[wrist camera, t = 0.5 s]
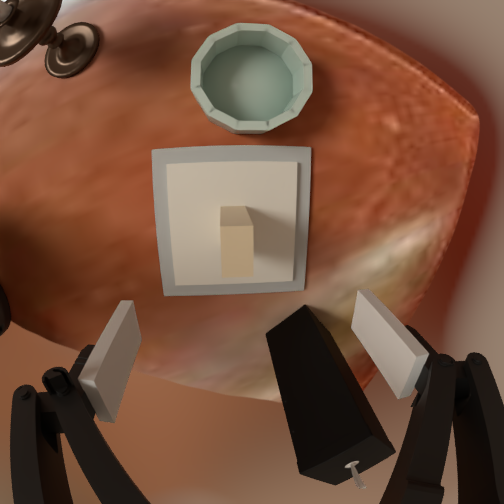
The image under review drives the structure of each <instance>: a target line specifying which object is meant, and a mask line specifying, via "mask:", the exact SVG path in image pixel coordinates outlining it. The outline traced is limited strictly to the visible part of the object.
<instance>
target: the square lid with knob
mask: <svg viewBox="0 0 504 504" xmlns="http://www.w3.org/2000/svg"><path fill="white" fill-rule="evenodd" d="M166 167H167V191H168V209H169V223H170V236H171V248H172V258H173V268H174V277H175V286H177V285H214V284H241V283H265V282H285V281H293V266H294V247H295V225H296V198H297V162H281V161H227V162H197V163H179V164H166Z"/></svg>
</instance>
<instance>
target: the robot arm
mask: <svg viewBox="0 0 504 504" xmlns="http://www.w3.org/2000/svg"><path fill="white" fill-rule="evenodd" d="M10 321H11V314H10V308H9V304H8V301H7V298H6V296H5V293H4V291H3V289H2V287H1V286H0V336H1V335H2V334H3V333H4V332H5V331H6V330H7V329H8V327H9V325H10ZM351 329H352V330H353V332H354V333H355V335H356V336H357V337H358V339H359V340H360V342H361V343H362V345H363V346H364V348H365V349H366V351H367V352H368V354H369V355H370V357H371V358H372V360H373V361H374V363H375V364H376V366H377V367H378V369H379V371H380V372H381V374H382V375H383V377H384V378H385V380H386V381H387V383H388V384H389V386H390V387H391V389H392V390H393V392H394V394H395V395H396V397H397V398H398V399H401V398H405V397H408V396H410V395H411V393H412V391H413V389H414V387H415V388H416V390H417V391H418V393H417V395H416V397H415V399H414V401H413V403H412V405H411V407H413V410H412V414H411V417H410V421H409V425H408V428H407V431H406V435H405V438H404V441H403V444H402V448H401V450H400V453H399V456H398V459H397V462H396V465H395V468H394V470H393V473H392V475H391V478H390V480H389V483H388V485H387V487H386V490H385V492H384V494H383V497H382V499H381V501H380V503H379V504H441V503H442V499H443V496H444V487H442V486H441V479H442V475H443V471H444V466H445V461H446V456H447V451H448V446H449V440H450V433H451V426H452V422H453V429H454V437H455V447H456V457H457V471H458V504H504V405H503V402H502V399H501V396H500V393H499V390H498V387H497V384H496V382H495V379H494V376H493V374H492V371H491V369H490V367H489V364H488V361H487V360H486V358H485V357H484V356H483V355H482V354H480V353H475V352H473V353H470V354H468V356H467V358H466V360H465V361H455V360H454V359H453V358H452V357H450V356H449V355H446V354H438V353H437V352H436V351H435V350H434V349H433V348H432V347H431V346H430V345H429V344H428V343H427V341H425V340H424V338H423V337H422V336H420V334H419V333H418V332H417V331H416V330H415V329H413V328H412V327H410V326H408V325H406V326H404V325H403V324H402V323H401V322H400V321H399V320H398V319H397V318H396V317H395V316H394V315H393V313H392V312H391V311H390V310H389V309H388V308H387V307H386V306H385V305H384V304H383V303H382V302H381V301H380V300H379V299H378V298H377V297H376V296H375V295H374V294H373V293H372V292H371V291H370V290H369V289H362V290H358V292H357V298H356V304H355V310H354V315H353V320H352V325H351ZM141 341H142V338H141V334H140V329H139V325H138V321H137V316H136V312H135V307H134V302H133V300H121V301H120V303H119V305H118V306H117V308H116V310H115V312H114V313H113V315H112V317H111V318H110V320H109V322H108V324H107V325H106V327H105V329H104V331H103V332H102V334H101V336H100V338H99V340H98V341H97V343H96V345H87V346H86V347H85V348H84V349H83V350H81V352H80V354H79V356H78V358H77V359H76V361H75V364H73V366H72V368H71V370H70V372H69V373H68V371H67V370H66V369H65V368H63V367H54V368H51V369H49V370H47V371H46V372H45V373H44V375H43V377H42V382H43V384H44V386H45V388H46V390H47V391H48V392H39V393H37V392H36V390H35V389H34V387H33V386H31V385H22V386H20V387H18V388H17V389H16V390H15V392H14V394H13V400H12V411H11V412H12V413H11V429H10V430H11V431H10V458H11V459H10V462H11V479H12V490H13V499H14V504H73V500H72V497H71V493H70V488H69V484H68V480H67V474H66V470H65V464H64V458H63V452H62V446H61V438H60V433H65V436H66V438H67V440H68V442H69V445H70V447H71V449H72V451H73V453H74V455H75V457H76V459H77V461H78V463H79V465H80V467H81V469H82V471H83V473H84V474H85V476H86V478H87V480H88V482H89V483H90V485H91V487H92V489H93V490H94V492H95V493H96V495H97V497H98V498H99V500H100V502H101V503H102V504H151V503H150V502H149V501H148V500H147V499H146V497H145V496H144V495H143V494H142V492H141V491H140V490H139V488H138V487H137V486H136V485H135V483H134V482H133V481H132V479H131V478H130V476H129V475H128V474H127V473H126V471H125V470H124V468H123V467H122V465H121V464H120V462H119V461H118V459H117V458H116V456H115V455H114V453H113V452H112V450H111V449H110V447H109V445H108V444H107V442H106V441H105V439H104V437H103V436H102V434H101V432H100V431H99V429H98V427H97V425H96V424H95V422H94V420H93V419H94V416H95V413H96V415H97V417H98V418H99V420H100V421H104V422H111V423H115V420H116V417H117V413H118V410H119V407H120V403H121V400H122V397H123V394H124V390H125V388H126V384H127V381H128V378H129V375H130V372H131V369H132V366H133V364H134V361H135V358H136V355H137V352H138V349H139V346H140V344H141Z"/></svg>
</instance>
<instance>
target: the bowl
mask: <svg viewBox="0 0 504 504" xmlns="http://www.w3.org/2000/svg"><path fill="white" fill-rule="evenodd" d="M191 91H192V93H193V95H194V97H195V99H196V100H197V102H198V104H199V105H200V107H201V108H202V110H203V112H204V113H205V115H206V116H207V118H208V120H209V121H210V122H212V123H214V124H216V125H218V126H220V127H222V128H224V129H226V130H227V131H229V132H231V133H233V134H263V133H265V132H267V131H269V130H271V129H273V128H275V127H277V126H279V125H281V124H283V123H285V122H287V121H288V120H290V119H292V118H294V117H296V116H298V114H299V113H300V111H301V109H302V108H303V106H304V105H305V103H306V101H307V100H308V98H309V97H310V95H311V93H312V91H313V85H312V64H311V61H310V60H309V58H308V57H307V55H306V54H305V52H304V51H303V49H302V48H301V46H300V45H299V43H298V42H297V40H295V38H293V37H291V36H289V35H288V34H286V33H284V32H282V31H280V30H278V29H277V28H275V27H273V26H271V25H268V24H251V23H236V24H234V25H232V26H229V27H227V28H225V29H223V30H220V31H218V32H216V33H214V34H212V35H210V36H208V38H207V39H206V40H205V42H204V43H203V44H202V46H201V47H200V49H199V50H198V51H197V53H196V54H195V56H194V57H193V59H192V61H191Z"/></svg>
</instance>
